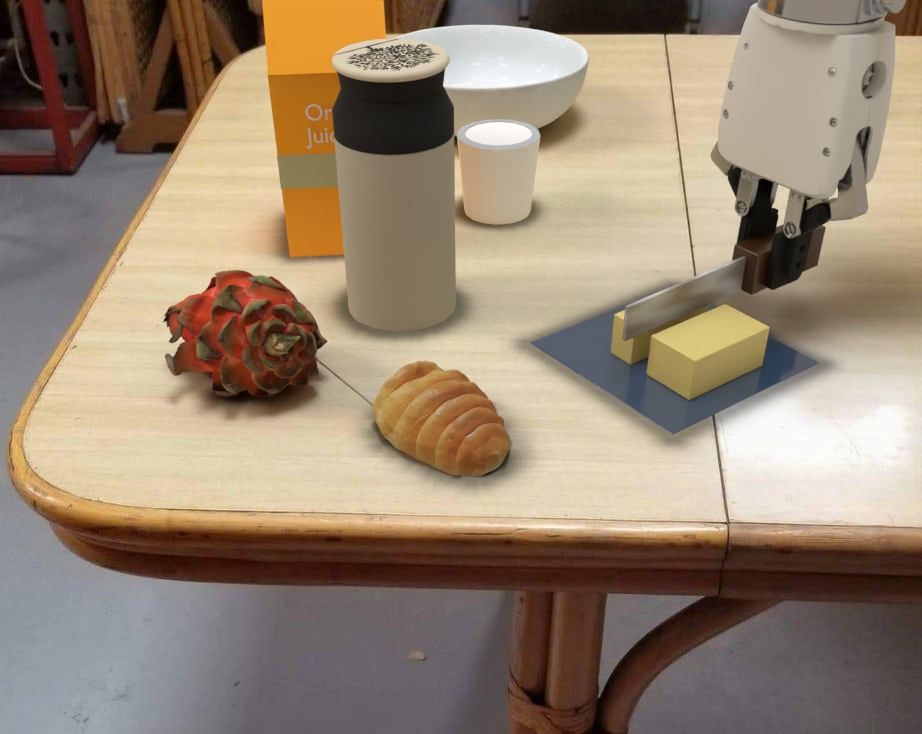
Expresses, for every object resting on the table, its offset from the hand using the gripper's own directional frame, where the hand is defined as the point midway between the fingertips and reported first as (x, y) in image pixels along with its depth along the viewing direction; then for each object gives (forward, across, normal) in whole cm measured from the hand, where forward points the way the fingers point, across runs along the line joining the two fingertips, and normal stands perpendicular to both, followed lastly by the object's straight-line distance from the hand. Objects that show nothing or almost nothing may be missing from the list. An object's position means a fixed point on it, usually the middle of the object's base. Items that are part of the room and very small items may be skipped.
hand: (766, 273), depth 76 cm
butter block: (+3, -3, +9) cm, 10 cm away
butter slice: (+3, +1, +9) cm, 9 cm away
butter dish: (+4, 0, +9) cm, 10 cm away
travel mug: (+4, +17, +20) cm, 26 cm away
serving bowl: (+4, +44, -8) cm, 45 cm away
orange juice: (+4, +30, +17) cm, 35 cm away
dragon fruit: (+4, +15, +34) cm, 37 cm away
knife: (0, 0, +5) cm, 5 cm away
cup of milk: (+4, +26, +4) cm, 26 cm away
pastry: (+4, +2, +27) cm, 27 cm away
